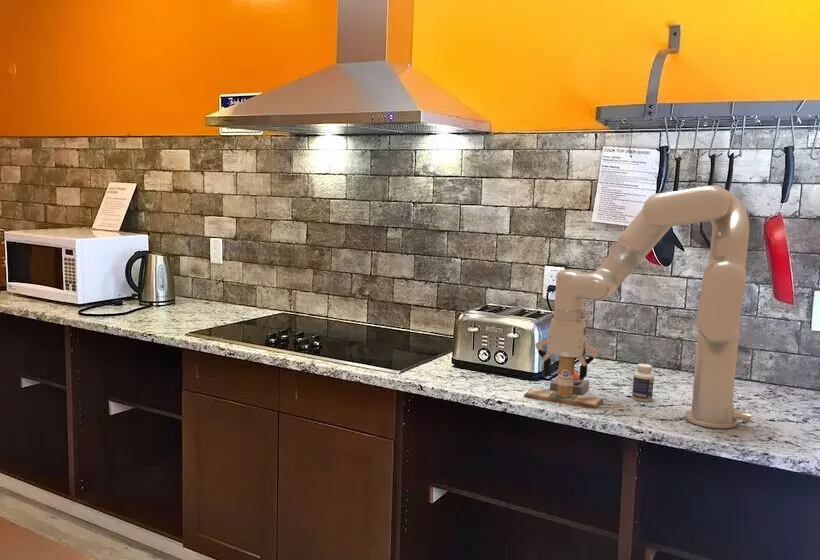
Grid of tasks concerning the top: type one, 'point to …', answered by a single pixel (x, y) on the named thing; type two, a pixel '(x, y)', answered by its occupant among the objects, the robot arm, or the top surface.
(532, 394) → the board
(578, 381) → the dome button
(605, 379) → the top surface
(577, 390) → the button housing
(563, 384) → the sprinkles bottle
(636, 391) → the pill bottle
